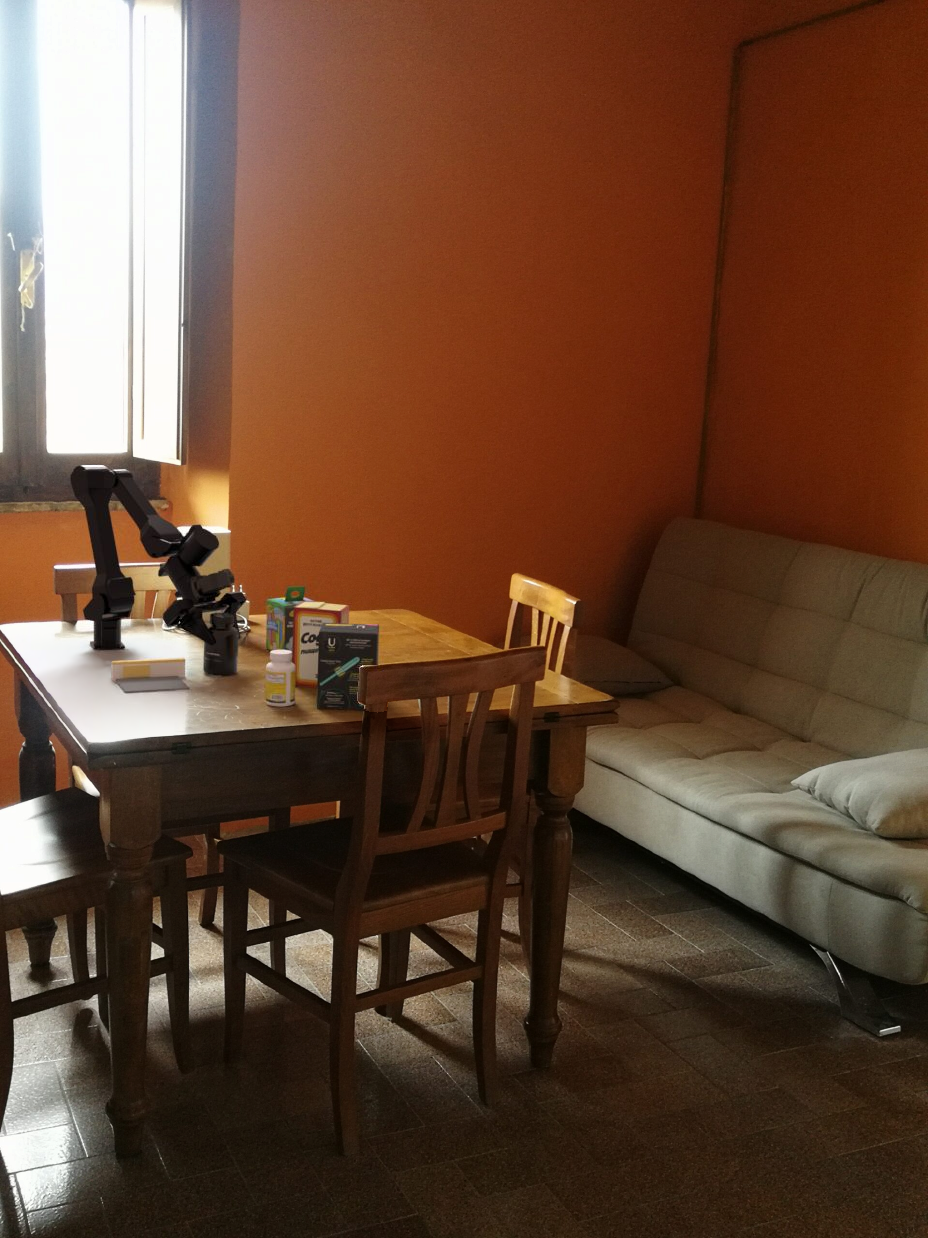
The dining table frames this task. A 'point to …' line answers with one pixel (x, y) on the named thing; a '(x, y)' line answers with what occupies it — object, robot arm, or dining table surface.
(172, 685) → the shelf mat
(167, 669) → the rail
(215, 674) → the supplement bottle
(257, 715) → the dining table surface
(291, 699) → the supplement bottle
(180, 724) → the dining table surface
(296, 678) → the baking soda box
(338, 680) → the tampon box
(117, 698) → the dining table surface
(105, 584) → the robot arm
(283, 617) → the chalk box
